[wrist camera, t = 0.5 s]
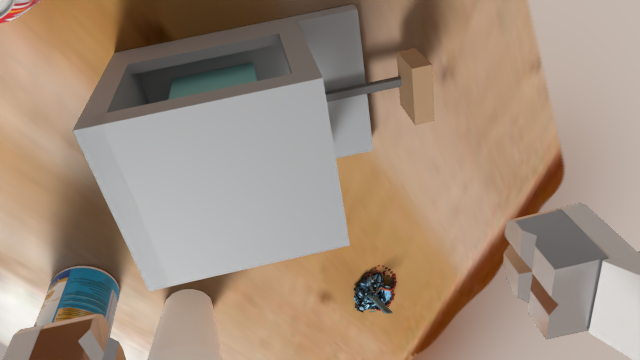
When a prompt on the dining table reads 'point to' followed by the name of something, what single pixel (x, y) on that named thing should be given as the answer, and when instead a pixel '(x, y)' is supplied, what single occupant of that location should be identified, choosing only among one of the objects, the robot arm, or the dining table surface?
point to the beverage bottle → (80, 296)
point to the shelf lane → (229, 146)
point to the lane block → (410, 80)
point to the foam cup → (186, 329)
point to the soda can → (14, 8)
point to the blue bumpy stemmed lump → (374, 292)
